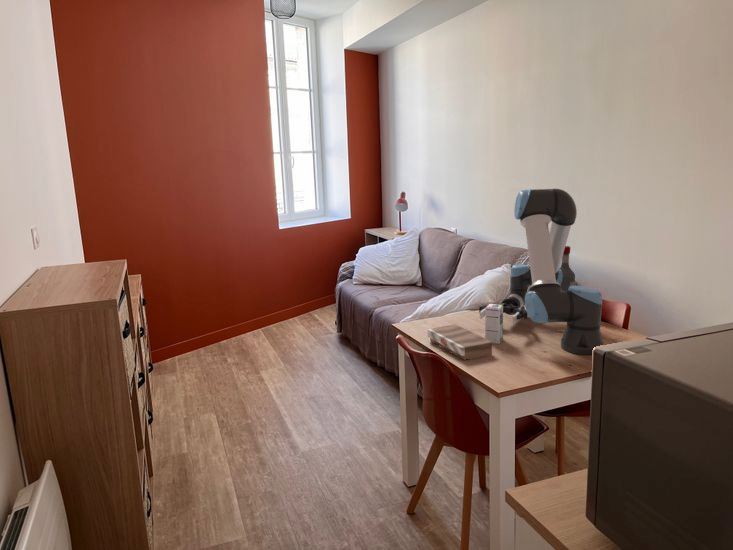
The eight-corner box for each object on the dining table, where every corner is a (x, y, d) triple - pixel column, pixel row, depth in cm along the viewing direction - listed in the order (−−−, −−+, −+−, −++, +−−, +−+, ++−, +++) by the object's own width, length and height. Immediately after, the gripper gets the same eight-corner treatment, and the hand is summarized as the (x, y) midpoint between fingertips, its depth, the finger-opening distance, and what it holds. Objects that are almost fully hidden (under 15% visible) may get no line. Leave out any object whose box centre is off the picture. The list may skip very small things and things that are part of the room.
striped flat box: (491, 354, 196) (492, 342, 195) (461, 361, 191) (461, 348, 190) (455, 336, 217) (455, 324, 216) (427, 341, 212) (426, 329, 211)
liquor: (573, 307, 253) (577, 245, 246) (572, 312, 244) (576, 248, 238) (553, 306, 256) (556, 244, 250) (551, 311, 248) (554, 247, 241)
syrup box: (499, 344, 207) (500, 308, 204) (484, 342, 210) (485, 306, 206) (502, 339, 212) (503, 304, 209) (488, 337, 214) (488, 303, 211)
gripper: (541, 316, 226) (527, 330, 208) (484, 309, 238) (467, 322, 221) (541, 299, 224) (528, 312, 206) (484, 293, 237) (467, 304, 219)
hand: (496, 317), depth 213 cm, fingers open, 13 cm apart
